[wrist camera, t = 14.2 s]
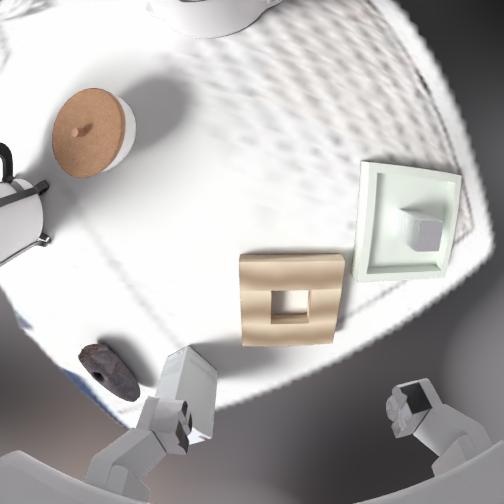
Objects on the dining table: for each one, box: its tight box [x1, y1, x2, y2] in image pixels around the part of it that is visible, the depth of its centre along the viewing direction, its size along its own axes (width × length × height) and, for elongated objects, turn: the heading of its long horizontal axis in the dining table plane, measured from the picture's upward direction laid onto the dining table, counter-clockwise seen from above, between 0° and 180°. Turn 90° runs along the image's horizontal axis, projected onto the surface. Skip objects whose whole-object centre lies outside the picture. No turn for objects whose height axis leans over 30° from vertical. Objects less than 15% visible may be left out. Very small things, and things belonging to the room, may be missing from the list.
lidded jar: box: [52, 88, 136, 178], centre depth 27 cm, size 11×11×9 cm
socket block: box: [239, 254, 345, 346], centre depth 39 cm, size 14×14×2 cm
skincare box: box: [155, 346, 218, 444], centre depth 39 cm, size 8×6×15 cm
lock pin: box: [395, 209, 444, 252], centre depth 32 cm, size 4×4×6 cm
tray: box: [351, 161, 462, 282], centre depth 34 cm, size 16×16×3 cm
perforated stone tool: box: [78, 344, 140, 402], centre depth 43 cm, size 15×5×7 cm, turn 26°
